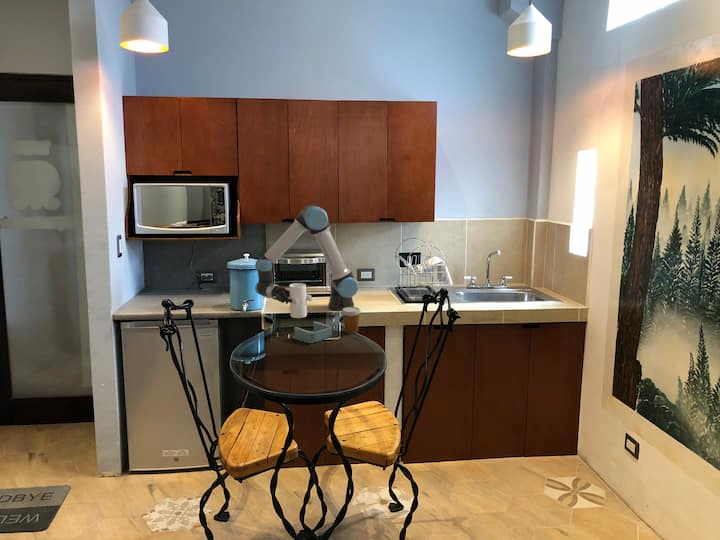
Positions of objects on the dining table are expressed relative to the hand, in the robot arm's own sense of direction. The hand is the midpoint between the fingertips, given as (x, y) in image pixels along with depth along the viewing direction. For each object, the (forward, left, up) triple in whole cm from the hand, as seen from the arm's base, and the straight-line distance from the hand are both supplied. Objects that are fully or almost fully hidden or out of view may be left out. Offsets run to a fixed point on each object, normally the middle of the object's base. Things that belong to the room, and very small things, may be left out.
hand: (304, 300), depth 281 cm
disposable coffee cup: (-19, +14, -18) cm, 30 cm away
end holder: (-1, +6, -18) cm, 19 cm away
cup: (0, -5, -9) cm, 10 cm away
